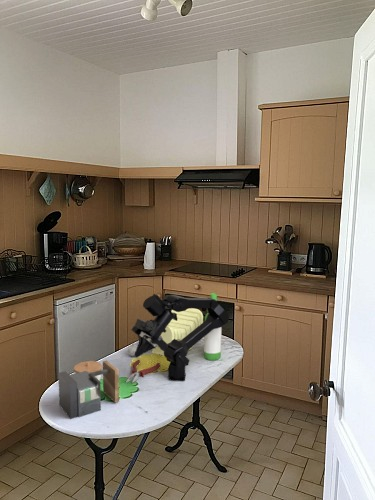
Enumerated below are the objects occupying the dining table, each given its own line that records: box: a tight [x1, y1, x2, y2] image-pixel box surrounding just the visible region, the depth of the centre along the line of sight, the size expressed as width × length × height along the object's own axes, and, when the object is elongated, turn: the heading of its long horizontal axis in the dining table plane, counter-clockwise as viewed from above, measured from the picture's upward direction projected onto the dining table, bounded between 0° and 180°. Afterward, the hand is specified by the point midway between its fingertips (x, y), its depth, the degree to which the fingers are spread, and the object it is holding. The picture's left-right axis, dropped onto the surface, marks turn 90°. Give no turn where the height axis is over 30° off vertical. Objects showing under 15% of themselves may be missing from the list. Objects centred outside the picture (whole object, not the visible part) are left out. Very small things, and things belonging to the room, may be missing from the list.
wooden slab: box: [89, 360, 120, 403], centre depth 150 cm, size 9×12×12 cm
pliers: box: [125, 359, 161, 384], centre depth 175 cm, size 12×20×3 cm, turn 162°
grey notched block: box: [58, 371, 102, 420], centre depth 146 cm, size 10×12×12 cm
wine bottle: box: [203, 292, 223, 361], centre depth 190 cm, size 8×8×30 cm
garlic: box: [127, 344, 138, 358], centre depth 193 cm, size 6×5×5 cm
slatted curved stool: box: [151, 308, 204, 356], centre depth 198 cm, size 30×16×18 cm, turn 152°
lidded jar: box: [73, 360, 103, 382], centre depth 163 cm, size 11×11×9 cm
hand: (135, 356), depth 158 cm, fingers closed
